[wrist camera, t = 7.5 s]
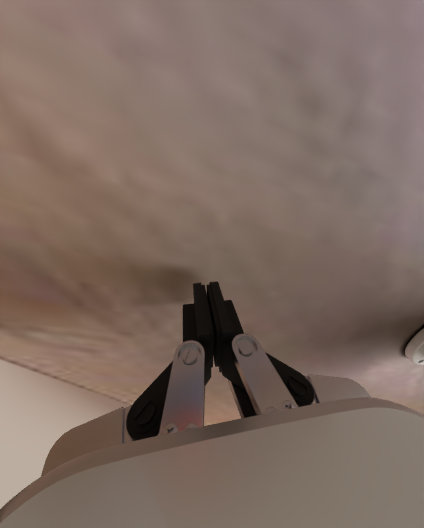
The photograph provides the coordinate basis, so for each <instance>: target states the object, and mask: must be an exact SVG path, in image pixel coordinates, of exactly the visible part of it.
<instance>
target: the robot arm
mask: <svg viewBox="0 0 424 528" xmlns="http://www.w3.org/2000/svg"><path fill="white" fill-rule="evenodd" d="M193 292H194V304H184V305H183V343H182V344H180V345H179V346H178V348H177V349H176V351H175V354H174V360H173V362H172V363H171V364H170V365H169V366H168V367H167V368H166V369H165V370H164V371H163V372H162V373H161V374H160V375H159V376H158V378H157V379H156V380H155V381H154V382H153V383H152V384H151V385H150V386H149V387H148V388H147V389H146V390H145V391H144V392H143V394H142V395H141V396H140V397H139V398H138V399H137V400H136V401H135V402H134V404H133V405H131V406H129V407H127V408H123V407H122V408H119V409H117V410H115V411H112V412H110V413H108V414H105V415H103V416H101V417H98V418H96V419H94V420H91V421H89V422H87V423H85V424H82V425H80V426H77V427H75V428H73V429H71V430H69V431H68V432H66V433H64V434H63V435H62V436H61V437H60V438H59V439H58V440H57V441H56V443H55V444H54V445H53V447H52V448H51V450H50V452H49V454H48V456H47V459H46V461H45V465H44V468H43V471H42V475H41V477H40V478H39V479H37V480H36V481H34V482H33V483H31V484H30V485H28V486H27V487H26V488H24V489H23V490H22V491H21V492H19V493H18V494H17V495H16V496H14V497H13V498H12V499H11V500H10V501H9V502H8V503H6V504H5V505H4V506H3V507H2V508H1V509H0V528H424V415H422V414H421V413H419V412H417V411H415V410H413V409H411V408H408V407H406V406H403V405H401V404H398V403H394V402H391V401H388V400H383V399H378V398H371V397H370V396H369V394H368V393H367V391H366V390H365V389H364V388H363V387H362V386H361V385H360V384H358V383H357V382H355V381H353V380H351V379H347V378H339V377H329V376H319V375H308V376H303V375H302V374H301V373H299V372H298V371H296V370H294V369H293V368H291V367H289V366H287V365H286V364H284V363H282V362H281V361H279V360H277V359H276V358H274V357H272V356H271V355H269V354H267V353H265V352H264V350H263V348H262V347H261V345H260V343H259V342H258V341H257V339H256V338H254V337H253V336H251V335H249V334H244V332H243V329H242V327H241V324H240V321H239V319H238V316H237V313H236V311H235V308H234V305H233V303H232V301H231V300H225V301H224V299H223V296H222V293H221V290H220V286H219V283H218V282H210V285H207V295H206V290H205V285H201V283H196V284H193ZM405 355H406V357H407V358H409V359H410V360H411V361H412V362H413V363H415V364H419V365H424V328H423V329H422V330H420V331H419V332H418V333H417V334H416V335H415V336H414V337H413V338H412V339H411V341H410V342H409V343H408V345H407V347H406V349H405ZM213 356H214V362H215V367H217V366H219V371H220V372H222V375H223V376H224V377H225V378H227V379H228V382H229V385H230V388H231V391H232V394H233V397H234V399H235V402H236V405H237V408H238V411H239V413H240V416H241V419H237V420H232V421H227V422H222V423H217V424H213V425H208V426H204V405H205V385H206V384H207V382H208V381H209V379H210V378H211V367H213Z"/></svg>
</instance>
